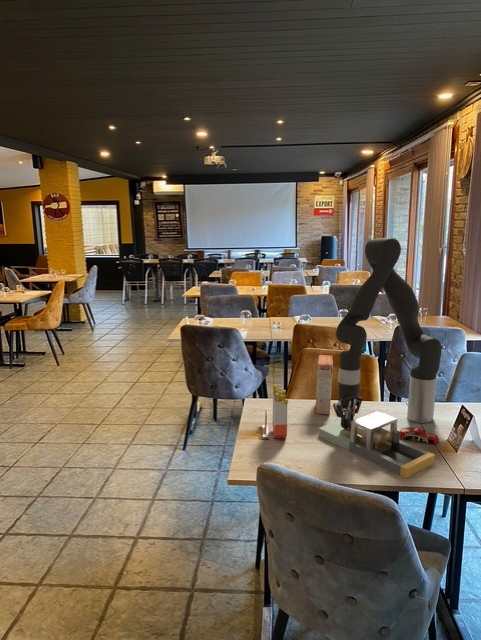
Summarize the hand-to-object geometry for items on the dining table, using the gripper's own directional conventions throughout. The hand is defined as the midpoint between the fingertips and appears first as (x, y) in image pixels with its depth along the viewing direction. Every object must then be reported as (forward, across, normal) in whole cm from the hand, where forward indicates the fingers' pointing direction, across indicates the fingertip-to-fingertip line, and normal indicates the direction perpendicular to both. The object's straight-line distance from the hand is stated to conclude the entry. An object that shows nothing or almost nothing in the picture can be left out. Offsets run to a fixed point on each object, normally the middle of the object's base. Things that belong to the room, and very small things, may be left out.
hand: (346, 426), depth 170 cm
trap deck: (+4, 0, +12) cm, 12 cm away
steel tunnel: (+1, 0, +12) cm, 12 cm away
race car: (+4, -19, +17) cm, 25 cm away
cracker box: (+4, -13, -23) cm, 27 cm away
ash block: (+1, 0, +11) cm, 11 cm away
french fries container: (+4, +18, -16) cm, 24 cm away
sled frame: (+1, 0, +10) cm, 10 cm away
